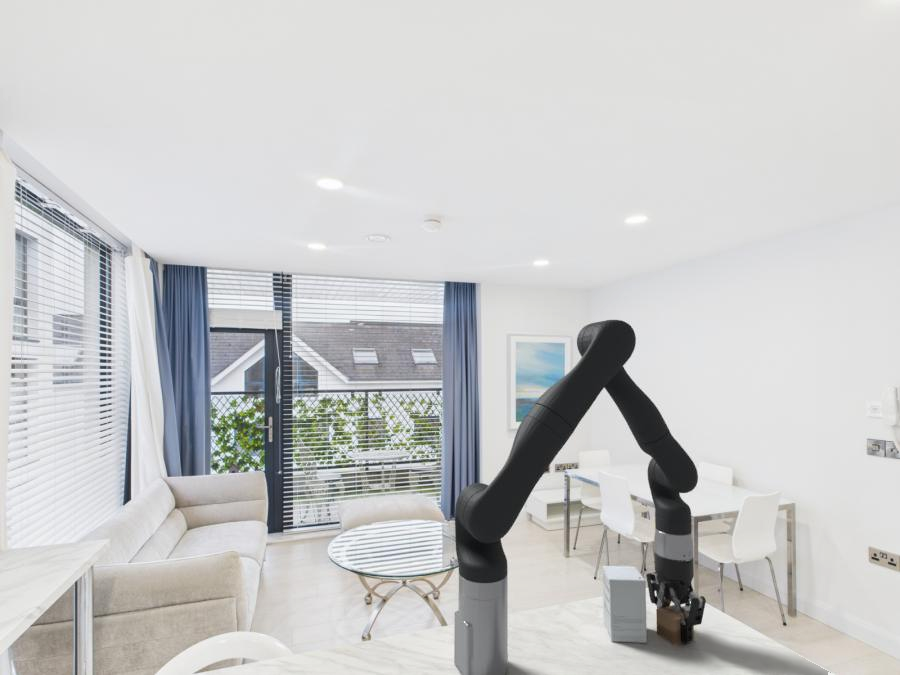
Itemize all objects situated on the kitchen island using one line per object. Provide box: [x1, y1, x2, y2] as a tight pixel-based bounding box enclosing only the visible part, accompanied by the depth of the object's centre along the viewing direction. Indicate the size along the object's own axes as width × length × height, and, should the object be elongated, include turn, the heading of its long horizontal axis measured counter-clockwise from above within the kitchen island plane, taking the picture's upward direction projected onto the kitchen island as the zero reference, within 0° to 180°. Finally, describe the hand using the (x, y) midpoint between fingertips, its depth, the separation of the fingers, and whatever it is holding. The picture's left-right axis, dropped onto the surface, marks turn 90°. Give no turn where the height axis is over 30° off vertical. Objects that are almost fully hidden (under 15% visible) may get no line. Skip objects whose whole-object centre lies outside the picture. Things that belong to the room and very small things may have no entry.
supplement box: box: [602, 565, 648, 644], centre depth 105 cm, size 7×7×13 cm
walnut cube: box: [655, 604, 695, 646], centre depth 103 cm, size 5×5×5 cm
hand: (675, 634), depth 103 cm, fingers closed on walnut cube, 5 cm apart
